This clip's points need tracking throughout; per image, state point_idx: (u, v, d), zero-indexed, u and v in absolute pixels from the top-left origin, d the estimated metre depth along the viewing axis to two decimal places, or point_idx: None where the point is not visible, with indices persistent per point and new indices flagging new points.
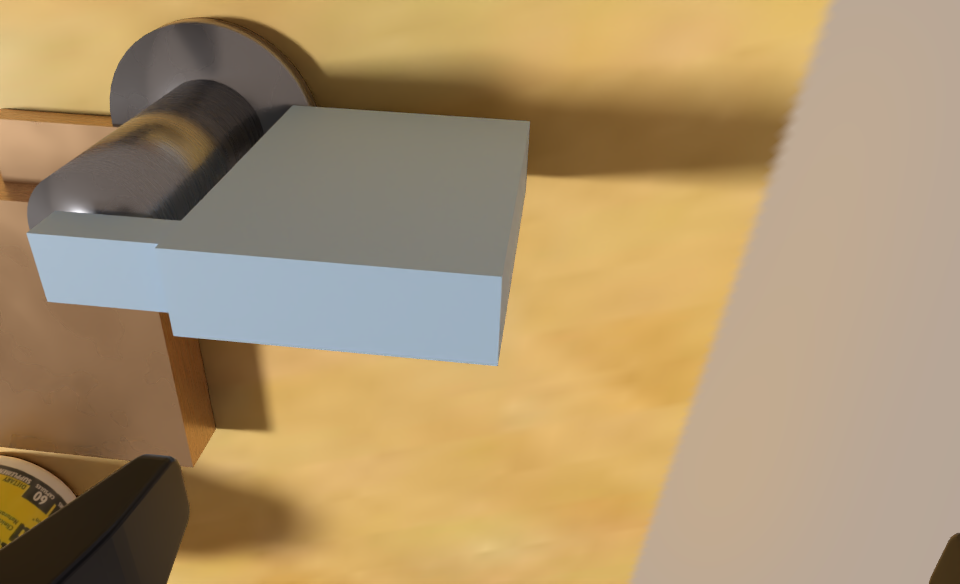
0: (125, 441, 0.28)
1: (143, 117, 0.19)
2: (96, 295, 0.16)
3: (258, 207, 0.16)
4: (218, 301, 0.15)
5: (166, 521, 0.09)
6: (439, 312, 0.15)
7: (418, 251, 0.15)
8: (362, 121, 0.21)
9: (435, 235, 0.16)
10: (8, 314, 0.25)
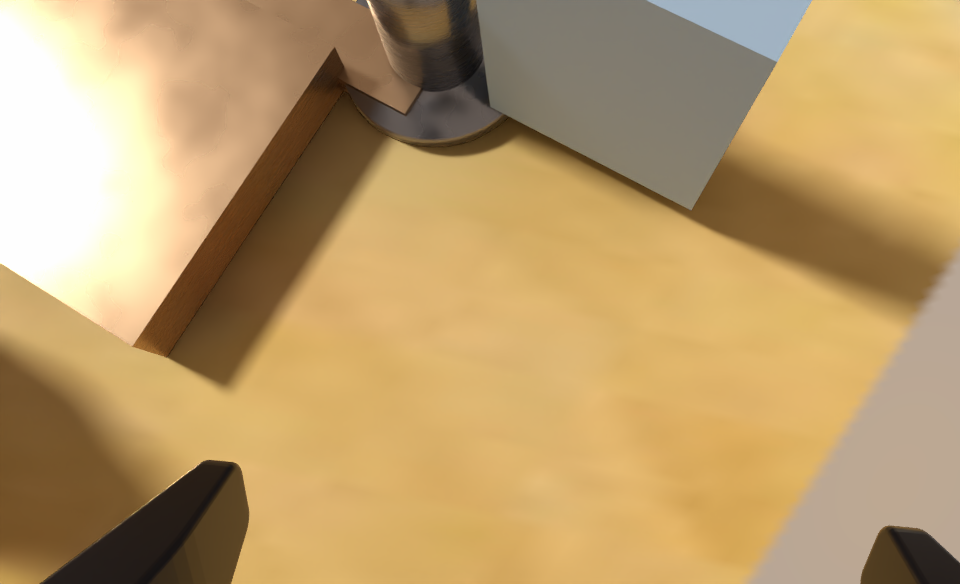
0: (87, 275, 0.22)
1: None
2: None
3: None
4: None
5: (229, 528, 0.09)
6: None
7: None
8: None
9: None
10: (112, 83, 0.23)
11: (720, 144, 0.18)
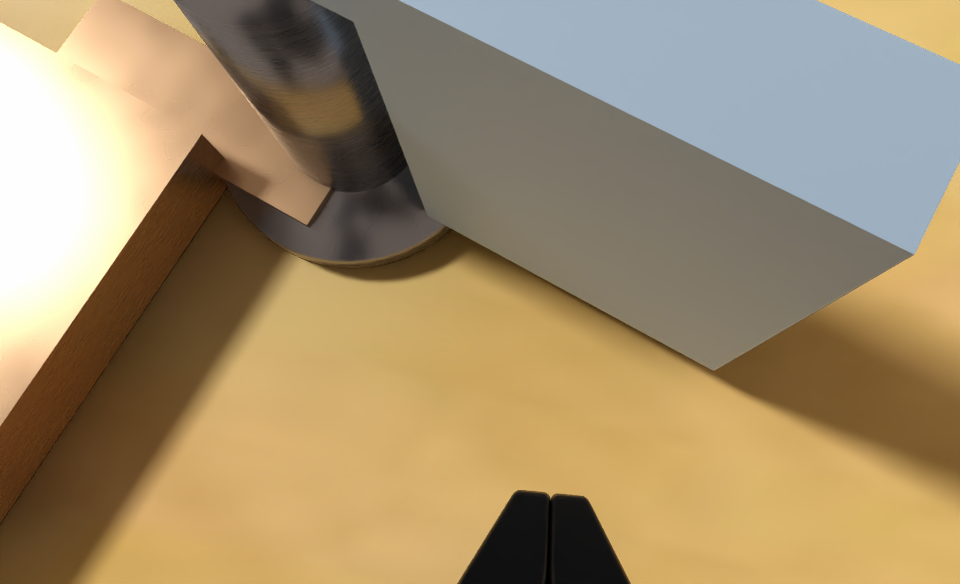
0: None
1: None
2: None
3: None
4: None
5: None
6: (851, 104, 0.08)
7: None
8: None
9: None
10: None
11: (774, 324, 0.11)
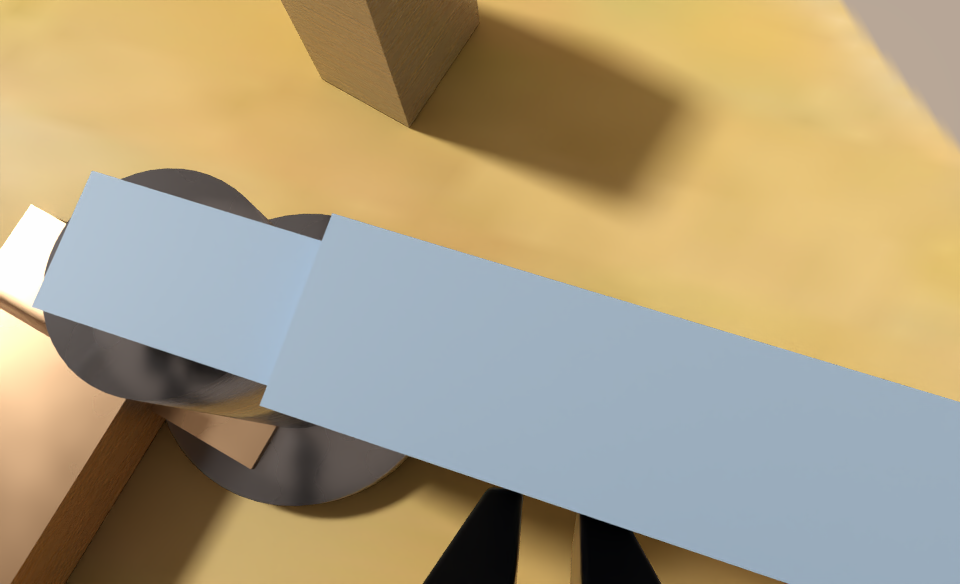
0: None
1: None
2: (135, 315, 0.08)
3: None
4: (398, 346, 0.08)
5: None
6: (854, 472, 0.07)
7: None
8: None
9: None
10: None
11: None
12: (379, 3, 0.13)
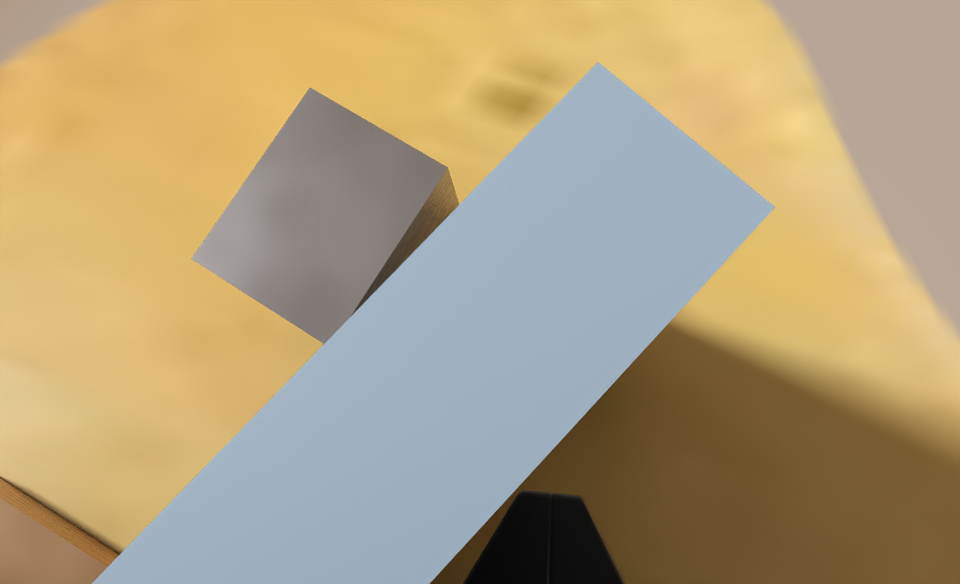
0: None
1: None
2: None
3: None
4: None
5: None
6: (586, 216, 0.07)
7: None
8: None
9: None
10: None
11: None
12: None
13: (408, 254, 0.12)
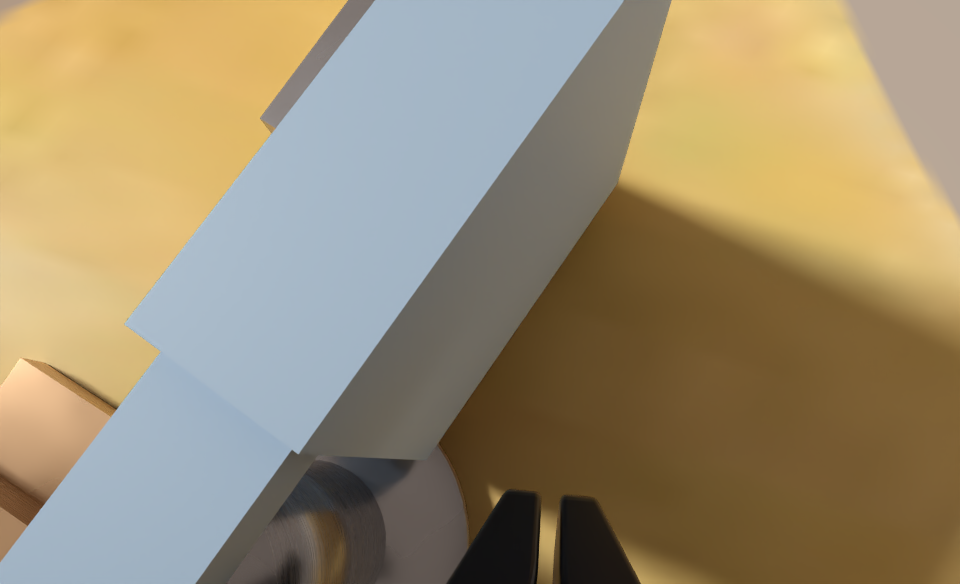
0: None
1: None
2: None
3: None
4: (289, 292, 0.07)
5: None
6: None
7: None
8: None
9: None
10: None
11: (642, 86, 0.11)
12: None
13: None
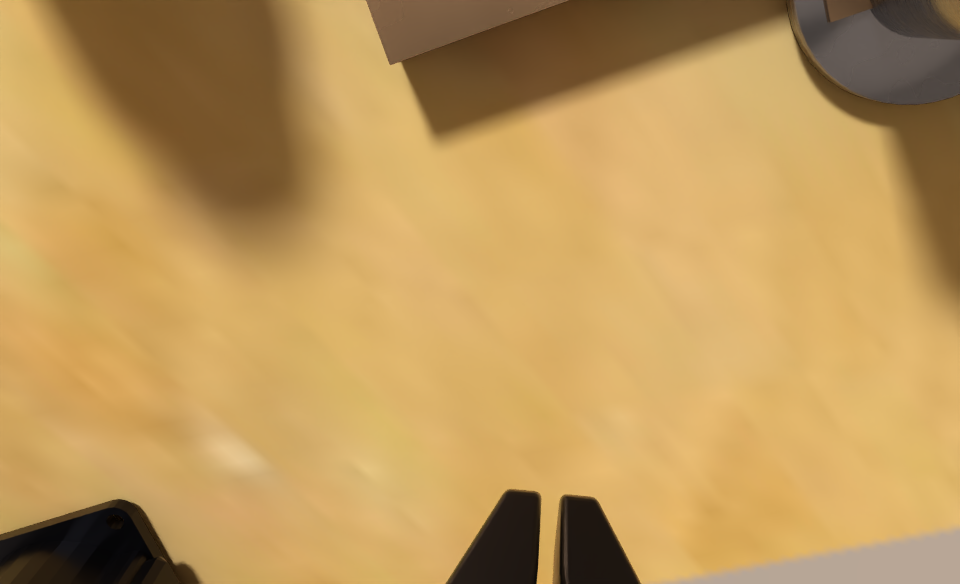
0: None
1: None
2: None
3: None
4: None
5: None
6: None
7: None
8: None
9: None
10: None
11: None
12: None
13: None
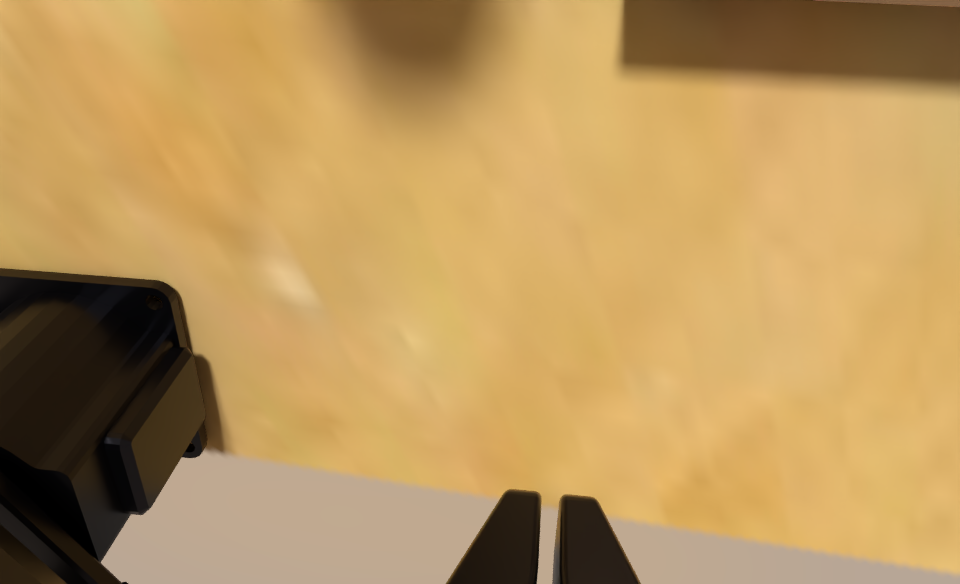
0: None
1: None
2: None
3: None
4: None
5: None
6: None
7: None
8: None
9: None
10: None
11: None
12: None
13: None
